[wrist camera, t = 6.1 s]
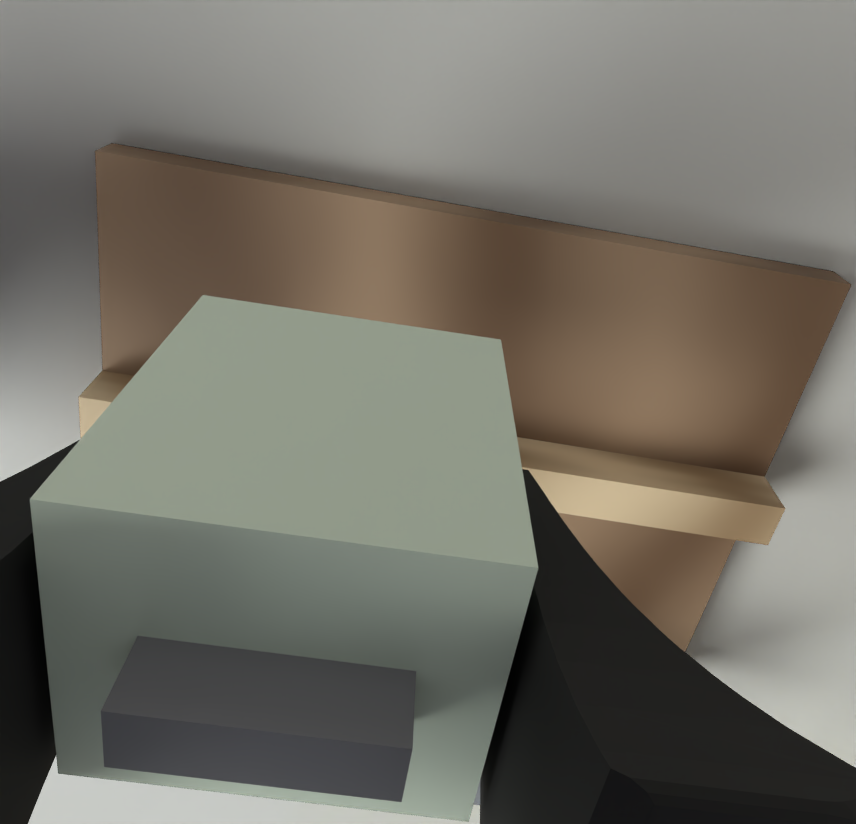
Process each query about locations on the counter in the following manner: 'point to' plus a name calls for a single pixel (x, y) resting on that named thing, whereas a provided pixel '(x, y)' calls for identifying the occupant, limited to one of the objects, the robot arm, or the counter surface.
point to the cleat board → (506, 341)
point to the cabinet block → (290, 564)
